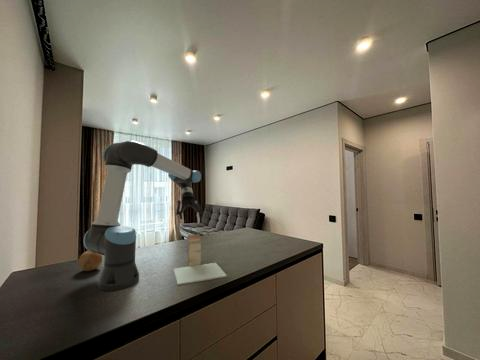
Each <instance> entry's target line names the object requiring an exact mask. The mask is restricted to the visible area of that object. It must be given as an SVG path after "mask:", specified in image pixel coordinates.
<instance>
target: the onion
mask: <svg viewBox="0 0 480 360" xmlns="http://www.w3.org/2000/svg"><path fill="white" fill-rule="evenodd" d="M77 262H78V263H77V264H78V267H79V268H80V270H82V271H84V272H91V271H94V270H96V269H98V268H99V267H100V266H101V264H102V262H103V255H101V254H96V253H93V252H91V251H89V250H86V251H83V253H82V254H81V255H80V256H79V258H78V261H77Z"/></svg>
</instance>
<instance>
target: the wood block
mask: <svg viewBox="0 0 480 360" xmlns="http://www.w3.org/2000/svg"><path fill="white" fill-rule="evenodd" d="M201 252H202V236H201V235H200V234H189V235H187V265H188V267H189V266H196V265H202V263H201V262H202V261H201V260H202V255H201V254H202V253H201Z"/></svg>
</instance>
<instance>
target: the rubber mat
mask: <svg viewBox="0 0 480 360" xmlns="http://www.w3.org/2000/svg"><path fill="white" fill-rule="evenodd" d="M173 272H174V277H175V282H176V285H177V286H181V285H187V284H193V283H198V282H203V281H209V280H215V279H221V278H227V276H228V275H227V274H226V273H225V271H223V269H222V268H221V267H220V265H218V264H217V262H211V263H205V264H201V265H196V266H189V265H188V266H184V267H182V266H181V267H175V268H173Z"/></svg>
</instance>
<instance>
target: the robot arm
mask: <svg viewBox="0 0 480 360" xmlns="http://www.w3.org/2000/svg"><path fill="white" fill-rule="evenodd" d="M102 159H103V160H104V163H105V164H104V167H105V169H106V170H107V171H106V176H105V180H104V181H105V182H104V184H103V189H102V190H103V191H102V194H101V199H100V204H99V209H98V213H97V217H96V219H95V220H94V221H93V222H91V225H90V228H89V230H87V231H86V233H84V236H83V240H82V241H83V246H84V248H85V249H86V251H88V250H89V251H91V252H93V253H96V254H101V255H102V256H104V258H103V259H104V260H103V262H104V263H103V269H102V272H101V274H100V276H99V279H98V282H97V283H98V285H97V287H98V289H99V290H100V291H105V292H109V291H110V292H113V291H119V290H124V289H126V288H127V289H128V288H129V287H132V286H134V285H135V284H137V283H138V282H139V280H140V273H139V269H138V266H137V264H136V248H137V247H136V245H137V244H136V243H137V231H136V229H135V228H134V227H131V226H124V225H121V223H120V222H119V216H120V212H121V211H120V210H121V206H122V200H123V196H124V191H125V185H126V182H127V181H126V180H127V176H128V174H130V172H131V171H132V168H133V166H134V165H140V166H145V167H147V168H151V167H152V168H155V169H157V170H159V171H162V172H164V173H167V175H168V178H169V179H170V180H171V181H172V182H173V183H175V185H177V186H178V187H180V191H181V200H177V206H176V212H175V215H177V216H179V220H181V224H182V225H184V224H185V220H184V219H185V218H184V211H185V209H186V207H190V208H192V209H193V210H194V211H195V213H196V219H197V220H196V221H197V224H200V221H201V217H202V216H201V214H203V212H204V210H203V208H202V205H201V204H200V200H199V199H198V200H195V198H194V192H193V186H192V185H193V184H192V183H199V182H200V181H201V180H202V173H201V172H200V171H199V170H192V169H190V168H188V167H186V166H184V165H182V164H181V163H178V162H176V161H174V160H172V159H171V158H168V157H167V156H164V155H163V154H160V153H159V152H158V150H156V149H155V148H153V147H151V146H150V145H149V146H148V145H146V144H144V143H142V142H138V141H136V140H126V141H121V142H114V143H111V144H109V145H107V146H106V147H105V148H104V150H103V151H102ZM181 204H182V207H181ZM180 207H181V208H180Z"/></svg>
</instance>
